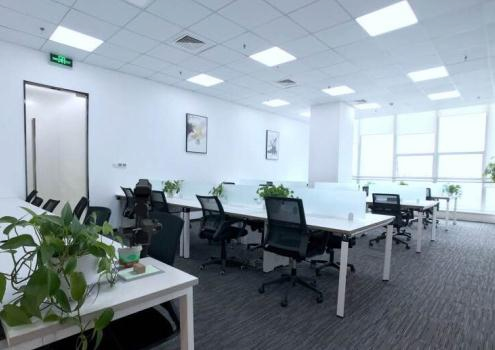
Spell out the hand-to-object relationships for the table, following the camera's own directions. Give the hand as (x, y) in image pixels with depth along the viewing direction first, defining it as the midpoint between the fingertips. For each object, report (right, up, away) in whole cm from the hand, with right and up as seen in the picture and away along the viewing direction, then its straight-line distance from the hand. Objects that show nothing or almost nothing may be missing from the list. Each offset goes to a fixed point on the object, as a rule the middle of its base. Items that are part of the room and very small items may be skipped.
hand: (140, 246), depth 129 cm
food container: (-8, -13, +10) cm, 18 cm away
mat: (-1, -13, 0) cm, 13 cm away
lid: (-1, -12, 0) cm, 12 cm away
